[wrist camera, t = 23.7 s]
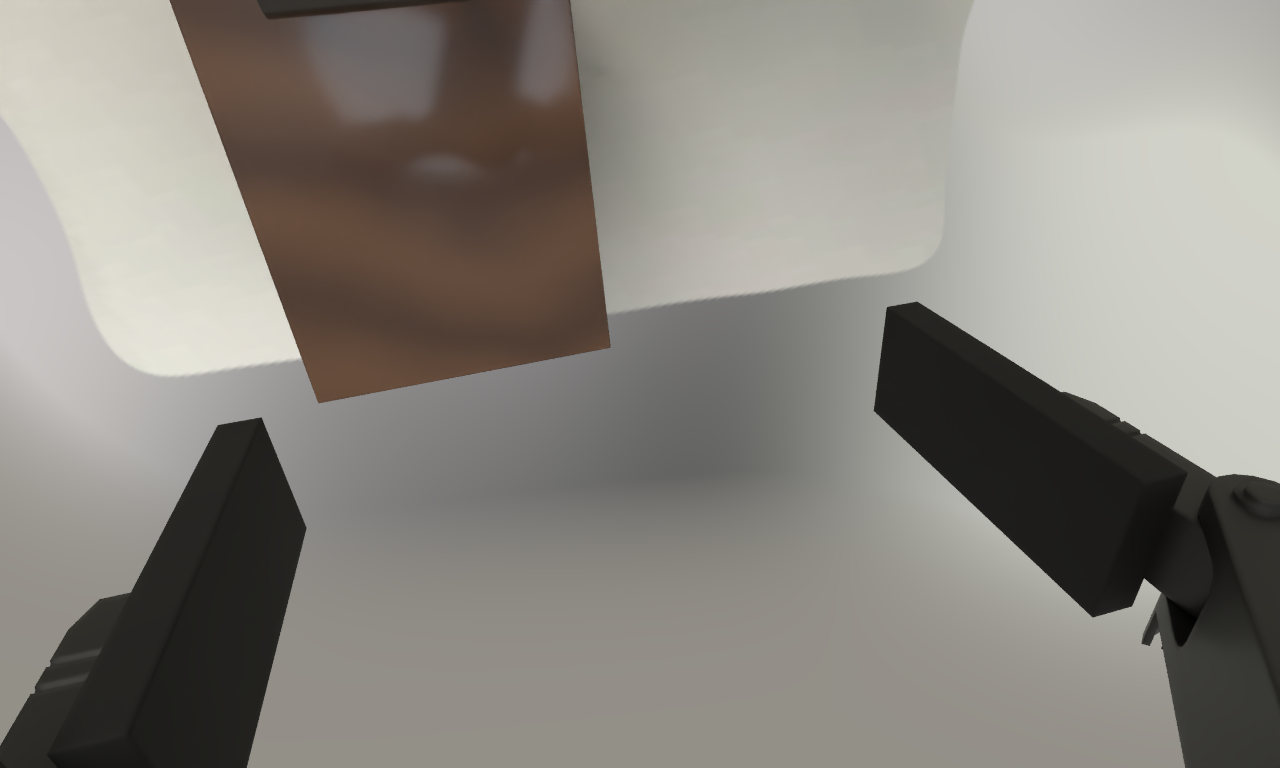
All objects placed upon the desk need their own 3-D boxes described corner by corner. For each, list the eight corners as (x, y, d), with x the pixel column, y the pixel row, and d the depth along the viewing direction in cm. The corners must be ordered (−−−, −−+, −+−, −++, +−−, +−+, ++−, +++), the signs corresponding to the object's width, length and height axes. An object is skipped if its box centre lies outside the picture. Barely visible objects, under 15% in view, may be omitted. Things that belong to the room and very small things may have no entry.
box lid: (141, -98, 21) (66, -125, 17) (551, -124, 23) (577, -154, 19) (320, 394, 29) (301, 459, 25) (607, 340, 32) (633, 392, 27)
